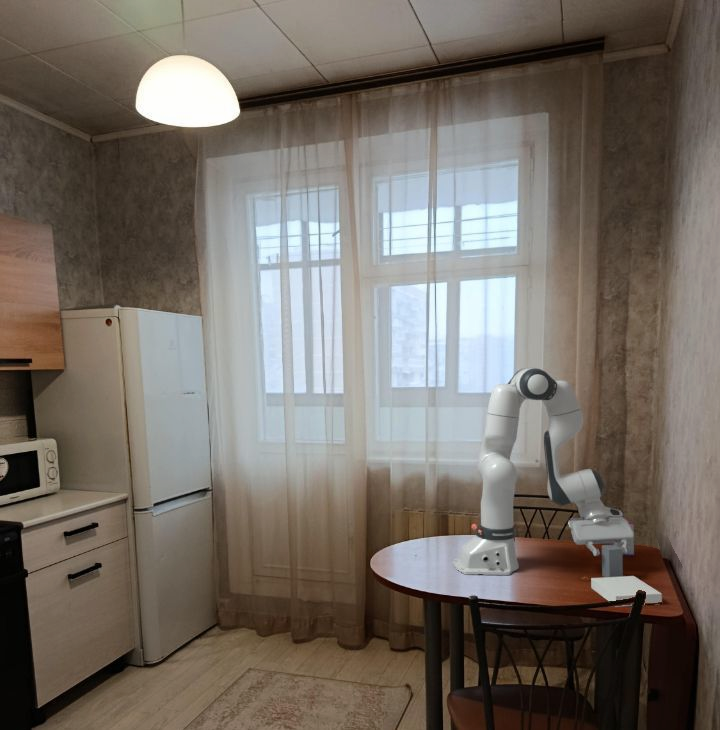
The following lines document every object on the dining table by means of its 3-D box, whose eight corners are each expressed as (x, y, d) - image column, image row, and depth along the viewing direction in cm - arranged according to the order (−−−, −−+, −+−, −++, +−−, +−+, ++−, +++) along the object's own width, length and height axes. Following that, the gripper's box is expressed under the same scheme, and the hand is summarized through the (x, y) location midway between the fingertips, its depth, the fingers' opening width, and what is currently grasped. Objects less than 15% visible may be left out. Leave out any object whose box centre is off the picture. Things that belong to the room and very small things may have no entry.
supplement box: (634, 556, 202) (633, 524, 202) (617, 555, 203) (616, 524, 203) (629, 551, 207) (629, 520, 207) (613, 550, 208) (612, 519, 208)
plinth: (616, 606, 160) (615, 596, 160) (591, 587, 174) (591, 578, 174) (661, 604, 161) (661, 593, 161) (633, 585, 175) (633, 575, 175)
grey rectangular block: (609, 580, 179) (609, 549, 179) (602, 575, 184) (601, 545, 184) (622, 580, 179) (622, 549, 180) (615, 574, 184) (614, 544, 184)
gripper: (569, 513, 189) (584, 551, 179) (625, 510, 191) (643, 548, 181) (563, 523, 194) (577, 560, 184) (618, 520, 196) (636, 557, 186)
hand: (611, 554), depth 183 cm, fingers open, 8 cm apart
